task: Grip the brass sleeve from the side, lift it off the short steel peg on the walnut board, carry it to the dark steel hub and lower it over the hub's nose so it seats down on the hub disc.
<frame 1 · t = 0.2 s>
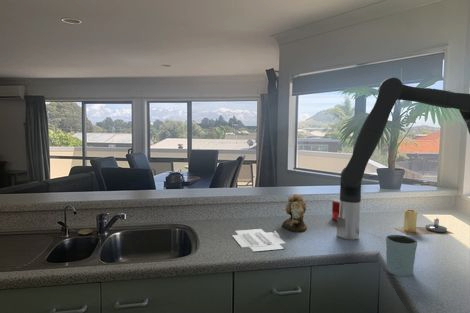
brown bust statue: (294, 227, 175), on the worktop
walnut board: (422, 233, 167), on the worktop
canned food: (339, 220, 189), on the worktop
white paper stack: (257, 241, 155), on the worktop
brass sleeve: (409, 230, 166), point 1 cm above the worktop, touching walnut board
pale green pot: (399, 271, 123), on the worktop
steel hub: (435, 230, 167), resting on walnut board
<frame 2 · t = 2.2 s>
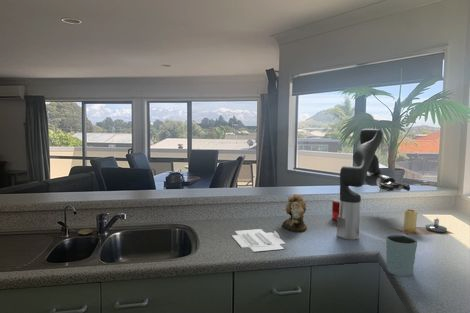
hand: (400, 188, 174), 20 cm above the worktop, tool horizontal, fingers open, 8 cm apart
nothing on the worktop moved.
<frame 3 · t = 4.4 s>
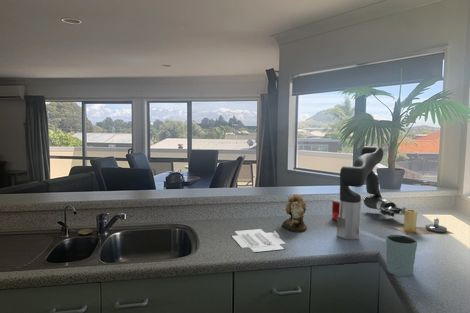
hand: (401, 214, 172), 7 cm above the worktop, tool horizontal, fingers open, 8 cm apart
nothing on the worktop moved.
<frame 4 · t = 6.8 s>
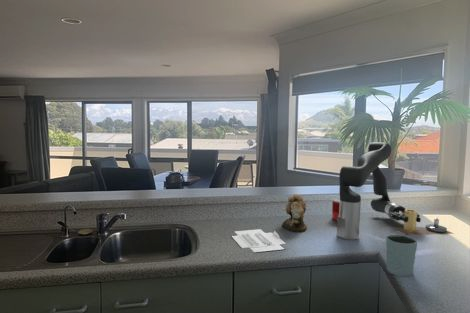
hand: (413, 220, 163), 8 cm above the worktop, tool horizontal, fingers closed on brass sleeve, 5 cm apart
brass sleeve: (409, 230, 166), point 2 cm above the worktop, touching gripper, walnut board
everything else where it was.
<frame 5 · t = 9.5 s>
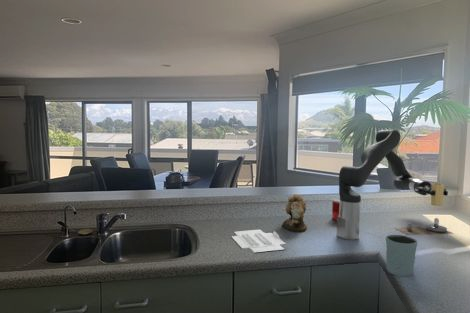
hand: (440, 193, 163), 20 cm above the worktop, tool horizontal, fingers closed on brass sleeve, 5 cm apart
brass sleeve: (436, 204, 167), point 14 cm above the worktop, touching gripper
when the fingers open (10 cm above the worktop, at t = 12.5 s): brass sleeve stays where it is, resting on steel hub.
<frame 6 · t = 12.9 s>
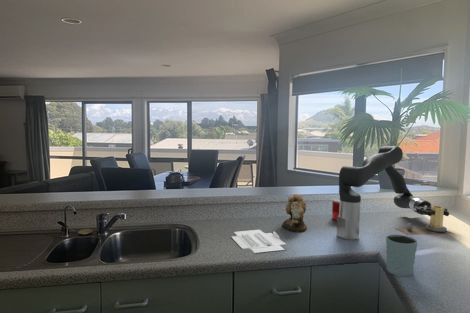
hand: (439, 214, 165), 10 cm above the worktop, tool horizontal, fingers open, 8 cm apart
brass sleeve: (435, 227, 167), point 3 cm above the worktop, touching steel hub
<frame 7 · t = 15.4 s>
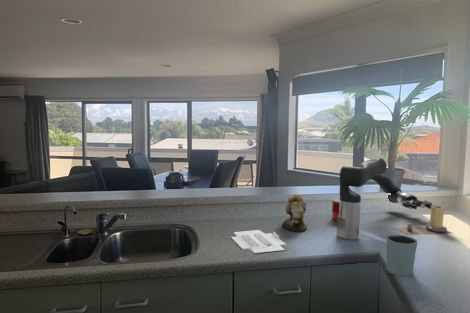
hand: (424, 207, 177), 10 cm above the worktop, tool horizontal, fingers open, 8 cm apart
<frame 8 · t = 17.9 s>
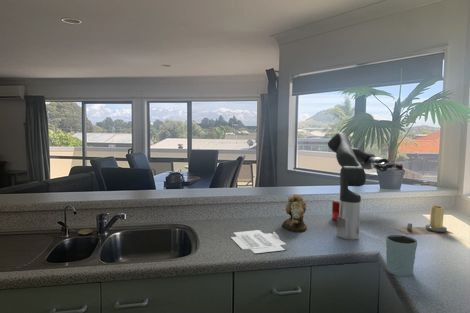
hand: (394, 167, 181), 30 cm above the worktop, tool horizontal, fingers open, 8 cm apart
at the end: brass sleeve 0.1 cm from the steel hub (horizontally); brass sleeve point 3.0 cm above the worktop; brass sleeve tilted 0° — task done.
